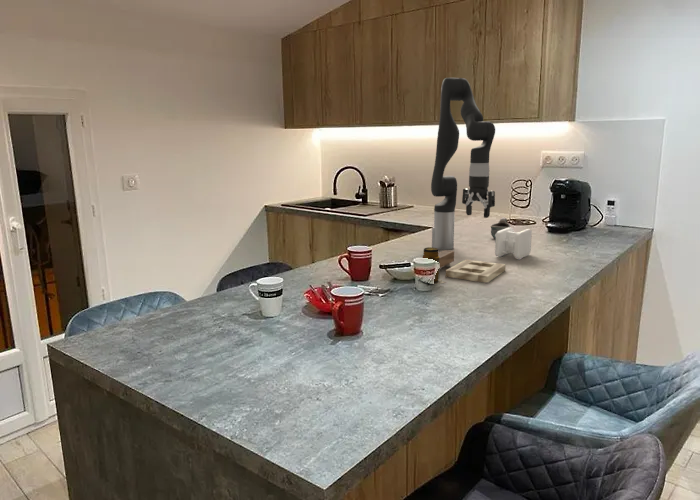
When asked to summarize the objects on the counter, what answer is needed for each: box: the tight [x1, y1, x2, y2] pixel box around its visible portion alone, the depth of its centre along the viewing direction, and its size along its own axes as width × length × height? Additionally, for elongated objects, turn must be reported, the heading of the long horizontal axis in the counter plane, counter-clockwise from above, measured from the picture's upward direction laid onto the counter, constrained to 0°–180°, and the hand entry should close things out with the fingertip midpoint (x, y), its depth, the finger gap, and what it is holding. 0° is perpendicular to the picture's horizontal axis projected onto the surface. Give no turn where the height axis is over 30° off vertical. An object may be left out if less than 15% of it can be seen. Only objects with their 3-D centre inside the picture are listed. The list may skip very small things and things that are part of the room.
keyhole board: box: [445, 259, 507, 284], centre depth 199 cm, size 16×20×2 cm
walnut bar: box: [438, 250, 455, 269], centre depth 206 cm, size 4×14×6 cm, turn 146°
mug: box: [490, 217, 512, 240], centre depth 262 cm, size 10×12×10 cm
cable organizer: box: [494, 227, 533, 261], centre depth 224 cm, size 15×11×12 cm
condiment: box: [422, 246, 447, 285], centre depth 189 cm, size 7×8×12 cm
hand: (477, 216), depth 206 cm, fingers open, 8 cm apart
